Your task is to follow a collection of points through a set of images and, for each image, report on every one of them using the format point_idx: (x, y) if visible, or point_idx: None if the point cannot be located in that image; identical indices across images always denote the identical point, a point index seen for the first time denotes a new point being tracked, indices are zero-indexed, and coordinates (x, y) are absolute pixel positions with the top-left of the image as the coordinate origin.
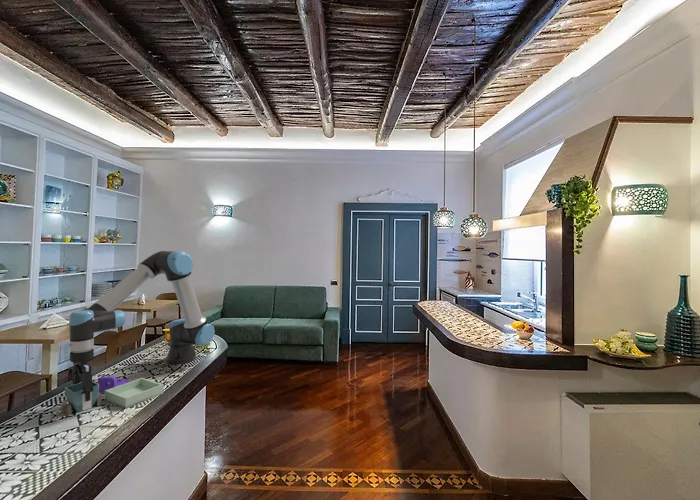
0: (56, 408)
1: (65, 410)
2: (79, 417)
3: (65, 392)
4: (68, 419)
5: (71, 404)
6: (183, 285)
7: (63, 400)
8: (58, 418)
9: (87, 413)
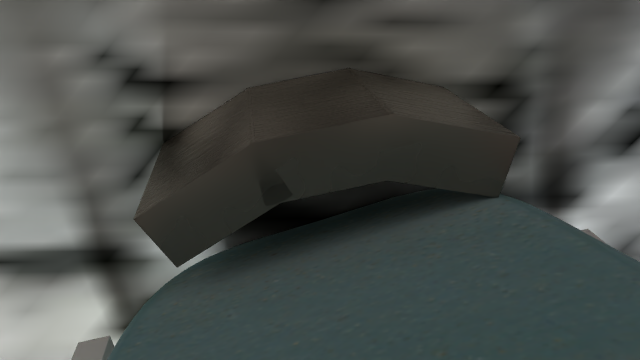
0: (601, 7)
1: (203, 141)
2: (9, 268)
3: (597, 264)
4: (18, 148)
5: (304, 240)
6: None
7: (506, 146)
8: (155, 25)
9: None
